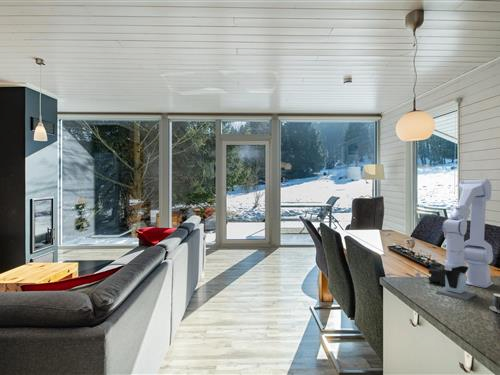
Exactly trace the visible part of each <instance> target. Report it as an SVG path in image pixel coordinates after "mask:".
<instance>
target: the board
mask: <svg viewBox="0 0 500 375" xmlns="http://www.w3.org/2000/svg"><path fill="white" fill-rule="evenodd" d="M435 291H436V294H438V295H441V296H446V297H450V298H455V299H460V300H463V301H468V300H469V299H471V298H473V297H475V296H476V295H477V291H476V290H469V289H466V291H465V292H463V293H462V294H460V293H456V292H451V291H447V290H446V287H445V286H443V287H442V288H439V289H437V290H435Z"/></svg>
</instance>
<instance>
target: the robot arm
mask: <svg viewBox="0 0 500 375" xmlns="http://www.w3.org/2000/svg"><path fill="white" fill-rule="evenodd" d="M458 189H459V192H460V197H459V200H458V204H456V205H454V206H453V208H452V210H451V213H450V215H449V217H448V218H447V219H445V220H444V221H443V222H442V232H443V236H444V238H445V245H446V246H445V251H446V252H445V254H446V259H445V260H442V262H443V263H444V266H445V267H444V268H443V272H444V273H445V275H446V277H447V280H448V283H449V287H451V288H455V289H456V288H457V283H458V277H459V274H460V273H466V285H470V286H473V287H479V288H484V289H486V288H488V287H490V286H492V285H493V284H494V283H493V282H491V268H490V264H491V263H492V262H493V259H494V252H493V247H492V245H491V244H490V243H489V242H487V240H485V230H486V229H485V228H486V225H485V224H486V205H487V201H489V200H491V197H492V183H491V180H489V179H488V178H484V179H482V178H481V179H462V180H460V182H459V184H458ZM470 206H471V207H470ZM470 208H471V209H470ZM469 217H470V228H469V230H470V231H469V239H467V240H465V235H466V233H467V230H468V222H467V221H468V218H469Z"/></svg>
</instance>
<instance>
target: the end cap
mask: <svg viewBox="0 0 500 375" xmlns="http://www.w3.org/2000/svg"><path fill="white" fill-rule="evenodd" d="M444 267H445V264H444V265H443V264H441V265H440V266H439V265H432V264H431V265H430V266H429V268H428V274H429V275H430V276H428V281H429V282H428V284H429V285H435V286H443V285H445V273H444V272H443V268H444Z"/></svg>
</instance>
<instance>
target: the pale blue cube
mask: <svg viewBox="0 0 500 375" xmlns="http://www.w3.org/2000/svg"><path fill="white" fill-rule="evenodd" d="M466 281H467V272H466V273H460V274H459V277H458V283H457V288H456V289H455V288H451V287H449V283H448V280H447V277H446V275H445V284H444V285H445V286H444V287H446V290H447V291H451V292H456V293H460V294H462V293H463V292H465V291H466V290H467V284H466Z"/></svg>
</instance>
